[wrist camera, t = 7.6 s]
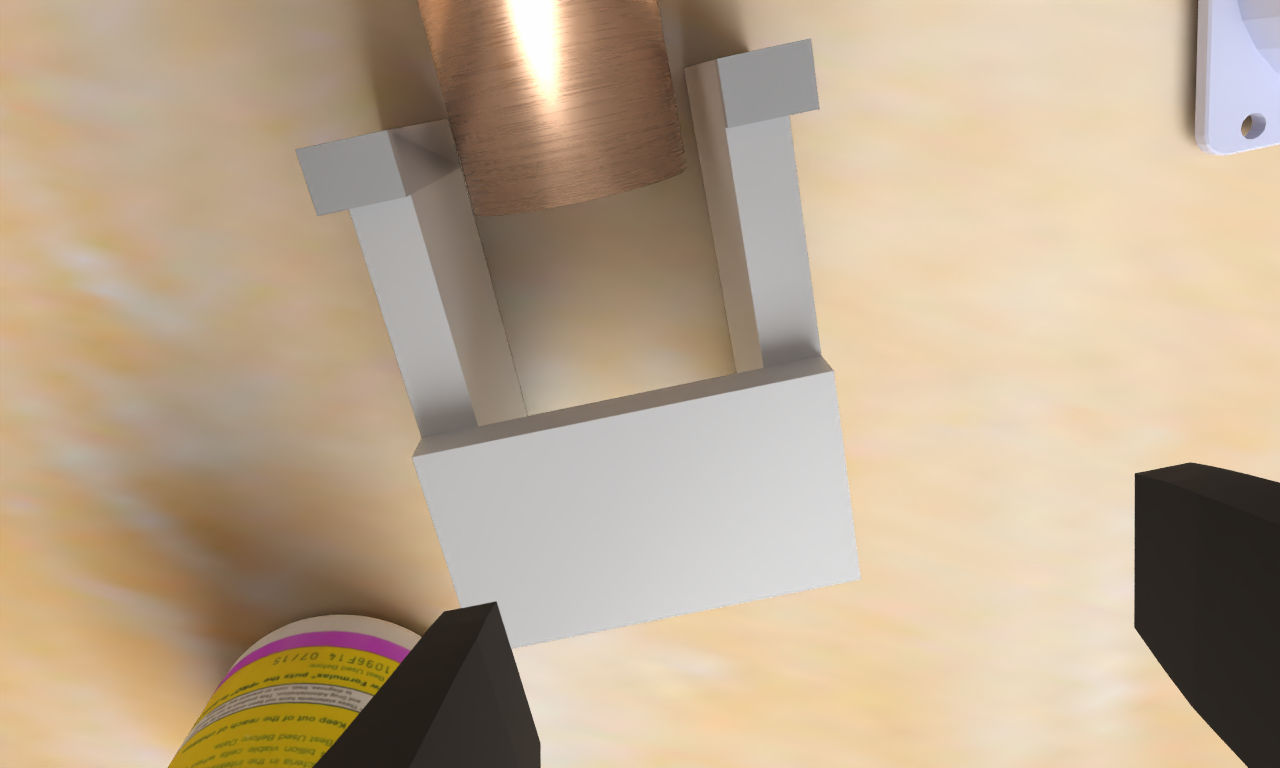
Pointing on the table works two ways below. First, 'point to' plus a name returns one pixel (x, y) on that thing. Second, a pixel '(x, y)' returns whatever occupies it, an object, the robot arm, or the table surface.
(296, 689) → the supplement bottle
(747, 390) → the u-shaped bracket
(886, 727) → the table surface
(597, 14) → the tube
